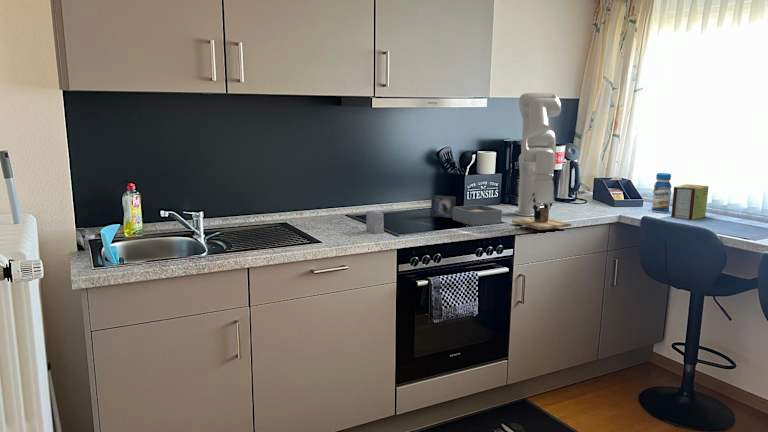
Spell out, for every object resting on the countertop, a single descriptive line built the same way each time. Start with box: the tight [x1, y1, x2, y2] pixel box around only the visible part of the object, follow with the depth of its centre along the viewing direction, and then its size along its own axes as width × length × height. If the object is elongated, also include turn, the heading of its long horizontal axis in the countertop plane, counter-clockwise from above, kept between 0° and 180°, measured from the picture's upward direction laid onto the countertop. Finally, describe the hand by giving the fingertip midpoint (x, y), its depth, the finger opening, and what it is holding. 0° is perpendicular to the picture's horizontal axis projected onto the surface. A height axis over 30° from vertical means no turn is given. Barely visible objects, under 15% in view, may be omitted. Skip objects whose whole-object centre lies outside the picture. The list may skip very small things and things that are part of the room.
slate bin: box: [452, 204, 503, 227], centre depth 268 cm, size 16×16×7 cm
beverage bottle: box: [651, 172, 672, 214], centre depth 301 cm, size 8×8×20 cm
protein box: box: [670, 183, 710, 221], centre depth 287 cm, size 10×15×16 cm
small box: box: [430, 194, 457, 219], centre depth 281 cm, size 11×6×10 cm, turn 62°
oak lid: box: [511, 207, 572, 231], centre depth 257 cm, size 18×18×7 cm
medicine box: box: [365, 210, 385, 235], centre depth 248 cm, size 8×4×9 cm, turn 30°
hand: (541, 218), depth 257 cm, fingers closed on oak lid, 4 cm apart
